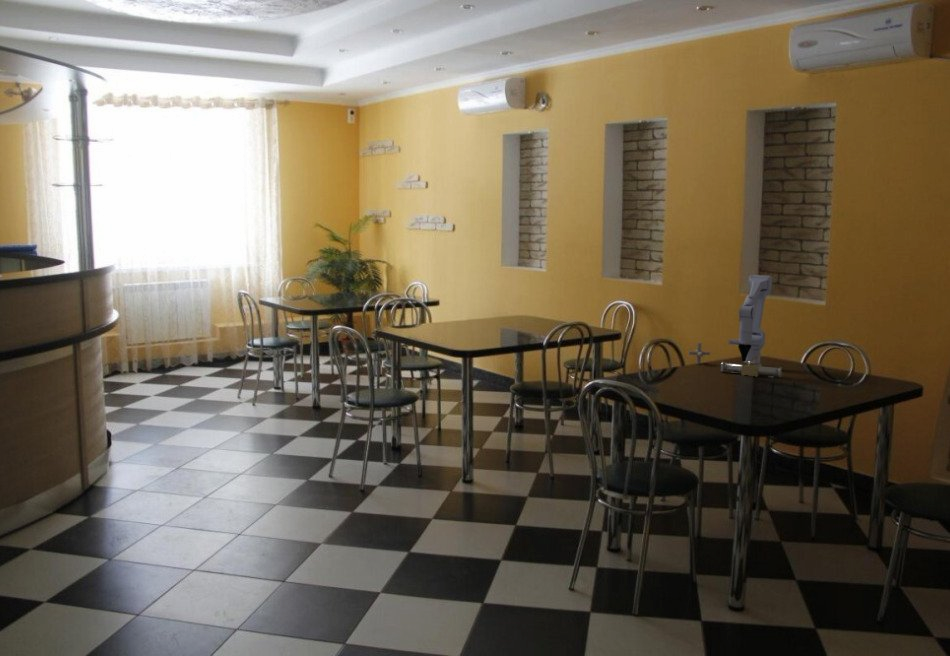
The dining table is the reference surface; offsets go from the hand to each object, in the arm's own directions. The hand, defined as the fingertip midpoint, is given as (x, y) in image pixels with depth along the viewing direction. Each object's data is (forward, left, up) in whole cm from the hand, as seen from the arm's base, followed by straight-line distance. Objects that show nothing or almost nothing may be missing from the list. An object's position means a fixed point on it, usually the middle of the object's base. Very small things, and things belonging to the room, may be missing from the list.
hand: (743, 360), depth 395 cm
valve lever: (+1, +4, 0) cm, 4 cm away
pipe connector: (-10, -23, -5) cm, 25 cm away
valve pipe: (+6, +4, -5) cm, 9 cm away
